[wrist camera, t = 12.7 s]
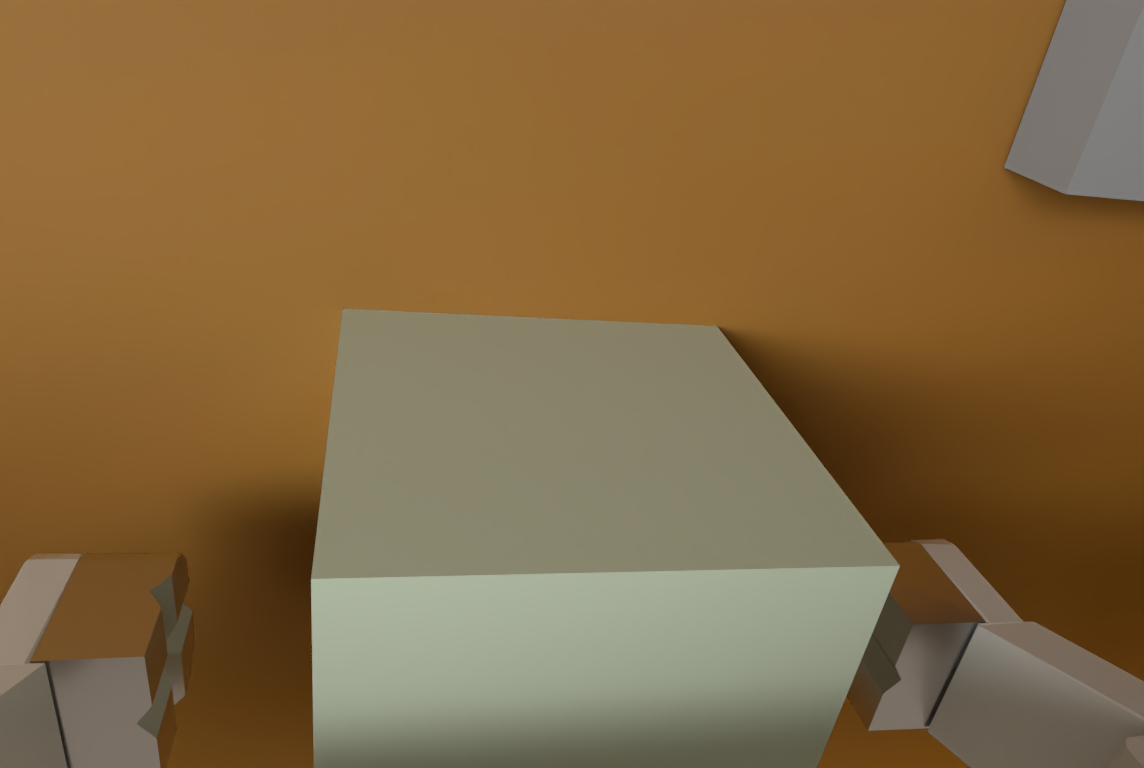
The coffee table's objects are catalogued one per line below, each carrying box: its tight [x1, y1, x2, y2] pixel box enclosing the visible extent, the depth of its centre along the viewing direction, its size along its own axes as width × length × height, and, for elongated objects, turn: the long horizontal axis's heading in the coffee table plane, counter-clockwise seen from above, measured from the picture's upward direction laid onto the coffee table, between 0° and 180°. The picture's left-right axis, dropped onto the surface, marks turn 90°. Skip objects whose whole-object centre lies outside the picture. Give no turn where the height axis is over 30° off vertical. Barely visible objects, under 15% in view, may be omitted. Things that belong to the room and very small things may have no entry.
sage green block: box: [311, 309, 900, 768], centre depth 10 cm, size 5×5×5 cm
